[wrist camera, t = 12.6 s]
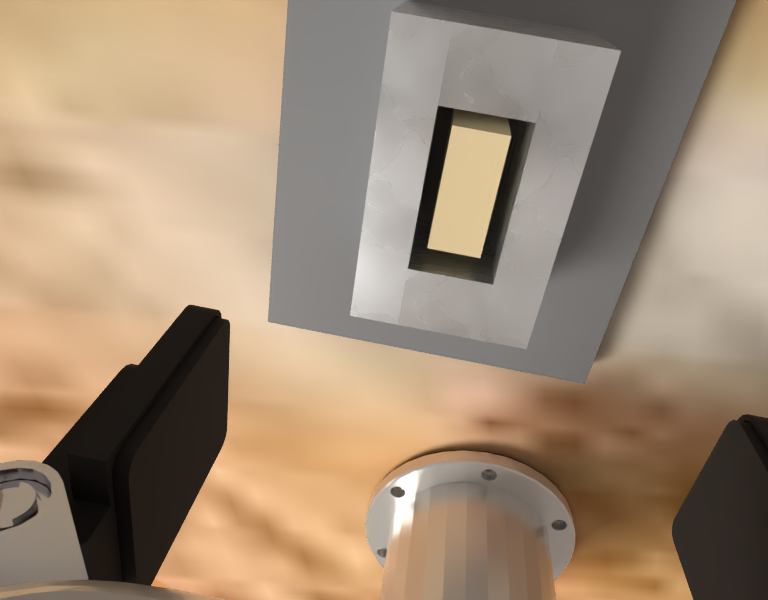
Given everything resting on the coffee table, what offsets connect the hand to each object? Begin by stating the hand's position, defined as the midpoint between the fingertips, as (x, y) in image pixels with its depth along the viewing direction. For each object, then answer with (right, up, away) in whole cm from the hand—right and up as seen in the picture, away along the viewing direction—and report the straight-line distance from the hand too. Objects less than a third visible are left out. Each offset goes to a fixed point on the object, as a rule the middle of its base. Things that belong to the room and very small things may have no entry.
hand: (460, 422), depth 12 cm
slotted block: (+2, +8, +14) cm, 16 cm away
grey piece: (+2, +9, +15) cm, 18 cm away
